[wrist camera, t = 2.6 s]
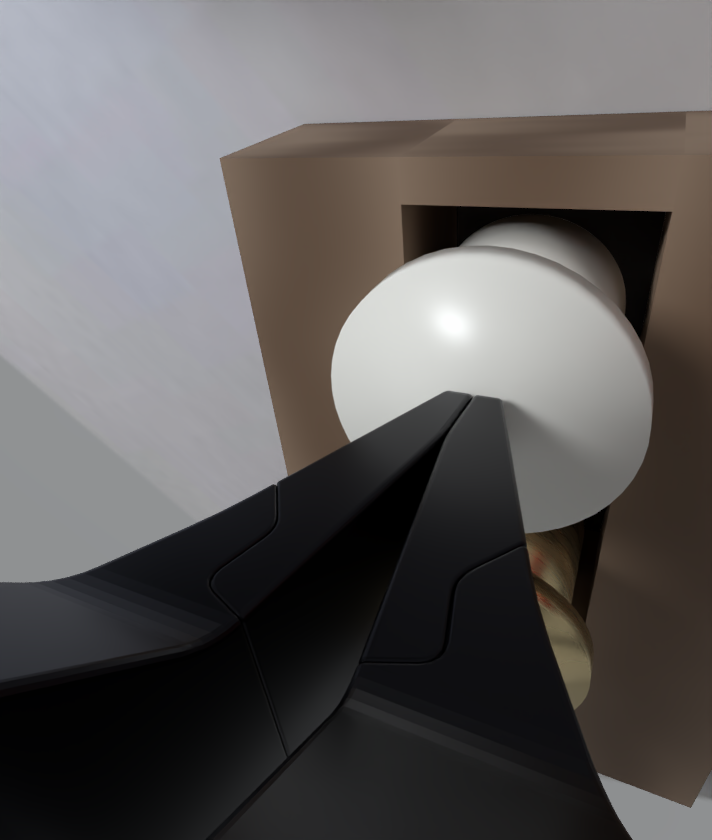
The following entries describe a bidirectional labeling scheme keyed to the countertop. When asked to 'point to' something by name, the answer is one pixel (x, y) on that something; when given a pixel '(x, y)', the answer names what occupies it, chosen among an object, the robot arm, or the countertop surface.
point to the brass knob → (562, 603)
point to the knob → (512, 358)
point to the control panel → (660, 336)
